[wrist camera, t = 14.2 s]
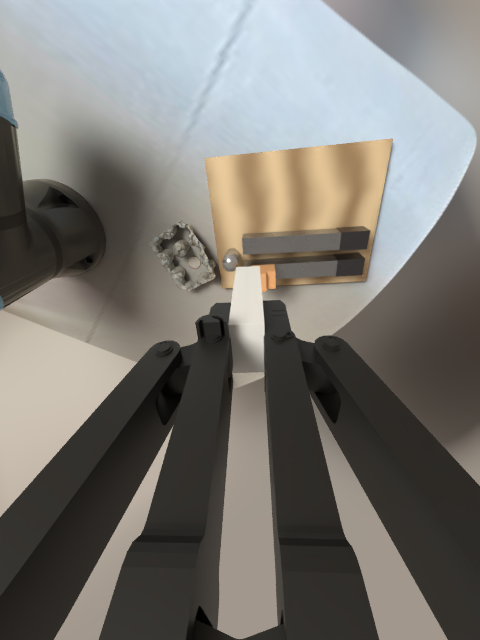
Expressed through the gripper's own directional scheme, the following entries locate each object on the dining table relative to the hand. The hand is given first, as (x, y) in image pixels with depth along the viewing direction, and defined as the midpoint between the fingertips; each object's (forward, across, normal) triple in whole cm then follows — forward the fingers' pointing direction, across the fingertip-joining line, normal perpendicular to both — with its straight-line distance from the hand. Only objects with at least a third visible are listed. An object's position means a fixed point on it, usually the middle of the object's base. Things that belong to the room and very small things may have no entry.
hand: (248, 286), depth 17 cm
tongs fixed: (+26, +6, -8) cm, 28 cm away
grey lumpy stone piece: (+28, -11, -7) cm, 31 cm away
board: (+28, +7, -2) cm, 28 cm away
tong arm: (+26, +8, -4) cm, 28 cm away
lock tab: (+23, +2, -9) cm, 25 cm away
